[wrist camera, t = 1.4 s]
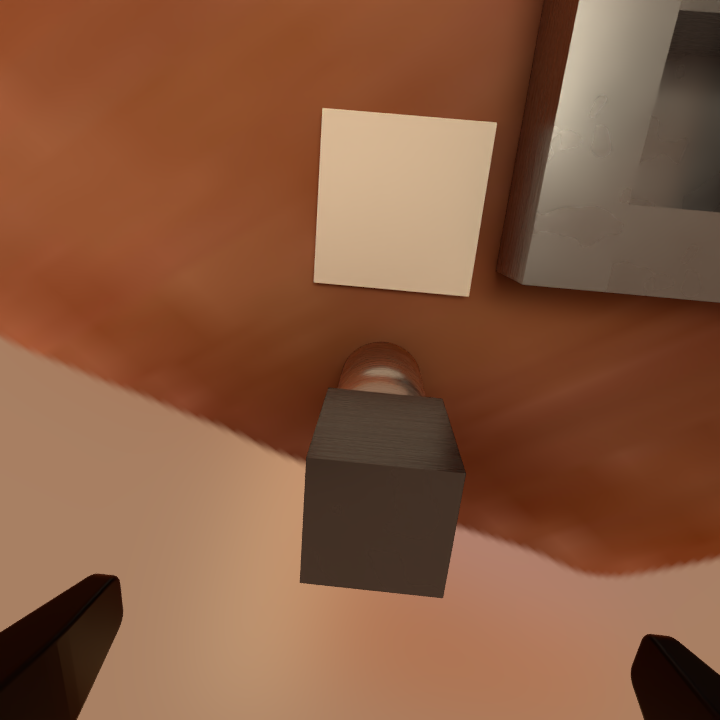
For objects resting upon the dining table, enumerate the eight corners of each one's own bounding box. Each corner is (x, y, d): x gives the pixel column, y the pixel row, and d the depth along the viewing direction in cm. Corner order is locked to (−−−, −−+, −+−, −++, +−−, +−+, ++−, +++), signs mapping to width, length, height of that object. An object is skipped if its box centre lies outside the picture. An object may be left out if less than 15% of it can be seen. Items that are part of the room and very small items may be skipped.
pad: (493, 125, 16) (497, 122, 15) (466, 294, 18) (468, 296, 17) (324, 111, 16) (322, 107, 15) (315, 280, 18) (313, 282, 17)
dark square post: (425, 346, 18) (465, 473, 9) (415, 419, 19) (443, 598, 10) (344, 338, 18) (306, 457, 9) (338, 412, 20) (299, 582, 11)
